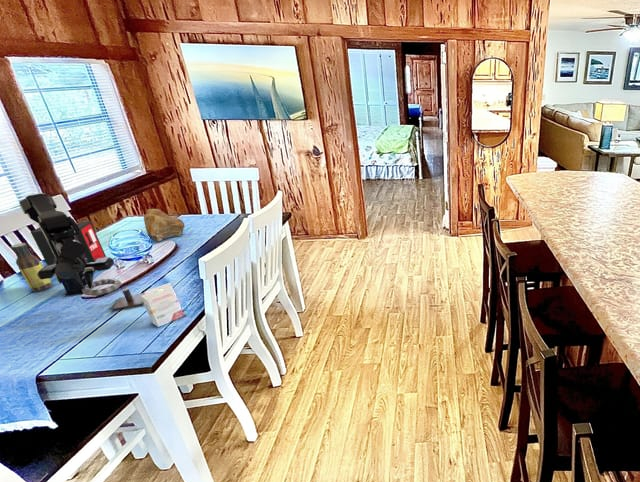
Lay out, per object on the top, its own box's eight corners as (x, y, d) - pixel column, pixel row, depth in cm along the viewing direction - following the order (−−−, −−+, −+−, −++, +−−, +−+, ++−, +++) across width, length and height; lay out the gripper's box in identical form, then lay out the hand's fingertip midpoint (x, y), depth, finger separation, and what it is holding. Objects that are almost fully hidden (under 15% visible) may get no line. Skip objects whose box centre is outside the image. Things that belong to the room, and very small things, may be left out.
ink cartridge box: (178, 312, 147) (165, 278, 141) (184, 316, 145) (172, 282, 139) (151, 323, 141) (137, 288, 134) (157, 327, 138) (143, 292, 132)
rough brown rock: (187, 241, 207) (181, 214, 202) (146, 246, 198) (140, 218, 192) (186, 229, 224) (181, 204, 219) (149, 232, 215) (142, 206, 210)
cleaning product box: (51, 273, 172) (30, 232, 163) (63, 264, 179) (44, 224, 171) (97, 268, 177) (79, 228, 168) (107, 260, 184) (90, 221, 176)
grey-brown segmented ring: (78, 298, 137) (76, 293, 136) (89, 284, 145) (87, 280, 144) (116, 293, 141) (115, 288, 141) (125, 280, 150) (123, 276, 149)
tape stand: (112, 311, 147) (106, 297, 144) (119, 299, 154) (113, 286, 152) (142, 305, 151) (137, 292, 148) (147, 294, 158) (142, 281, 155)
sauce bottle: (57, 284, 164) (35, 241, 155) (43, 292, 158) (19, 248, 150) (41, 284, 163) (19, 241, 155) (26, 292, 158) (2, 248, 149)
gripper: (19, 264, 124) (41, 305, 131) (95, 254, 132) (112, 293, 138) (36, 251, 133) (56, 289, 140) (106, 242, 141) (121, 279, 147)
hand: (86, 288), depth 141 cm, fingers closed on grey-brown segmented ring, 2 cm apart
